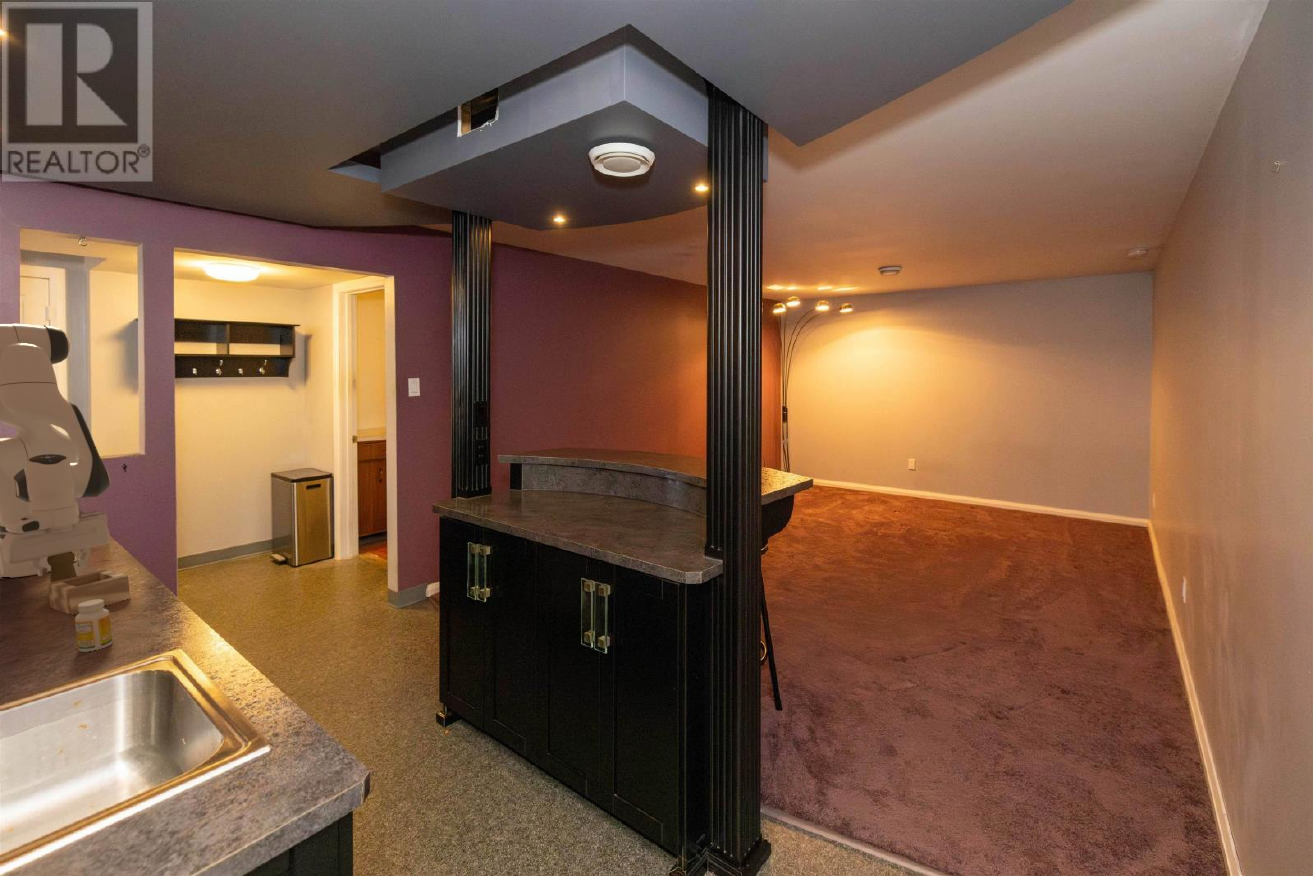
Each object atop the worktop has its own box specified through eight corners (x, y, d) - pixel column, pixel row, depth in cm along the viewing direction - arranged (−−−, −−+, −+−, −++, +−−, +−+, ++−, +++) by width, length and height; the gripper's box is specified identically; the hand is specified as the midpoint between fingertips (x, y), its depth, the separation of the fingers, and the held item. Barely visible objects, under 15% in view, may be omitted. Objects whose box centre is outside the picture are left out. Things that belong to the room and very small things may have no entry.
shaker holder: (50, 607, 152) (47, 583, 151) (108, 591, 162) (105, 569, 161) (72, 615, 147) (69, 590, 146) (130, 598, 157) (127, 575, 156)
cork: (61, 598, 158) (56, 556, 157) (43, 596, 159) (37, 555, 158) (87, 589, 164) (82, 549, 162) (69, 588, 165) (64, 548, 164)
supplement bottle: (80, 655, 126) (74, 609, 125) (76, 647, 129) (70, 603, 128) (115, 645, 130) (110, 601, 129) (110, 638, 134) (105, 595, 132)
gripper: (100, 508, 170) (106, 557, 171) (-4, 526, 152) (3, 580, 153) (111, 510, 167) (117, 560, 169) (7, 529, 149) (14, 584, 150)
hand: (62, 570), depth 161 cm, fingers open, 6 cm apart
